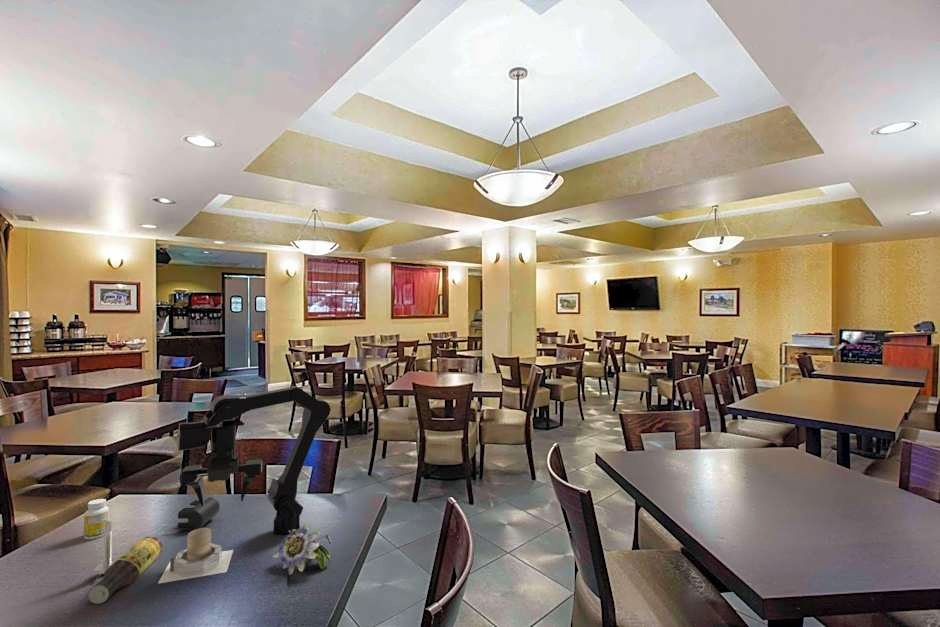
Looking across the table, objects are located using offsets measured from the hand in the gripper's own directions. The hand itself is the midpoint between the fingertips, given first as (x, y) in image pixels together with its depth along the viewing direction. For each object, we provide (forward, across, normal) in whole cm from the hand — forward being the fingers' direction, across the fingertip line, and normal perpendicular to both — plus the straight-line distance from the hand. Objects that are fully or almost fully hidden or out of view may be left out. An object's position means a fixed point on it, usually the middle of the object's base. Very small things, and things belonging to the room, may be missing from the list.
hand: (222, 503), depth 118 cm
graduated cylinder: (+13, -24, -3) cm, 28 cm away
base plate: (+13, -4, -7) cm, 15 cm away
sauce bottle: (+10, -17, +2) cm, 19 cm away
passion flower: (+13, +20, -14) cm, 28 cm away
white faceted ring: (+12, -4, -7) cm, 15 cm away
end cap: (+13, -9, +19) cm, 25 cm away
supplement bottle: (+13, -35, +22) cm, 44 cm away
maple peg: (+12, -4, -7) cm, 14 cm away
